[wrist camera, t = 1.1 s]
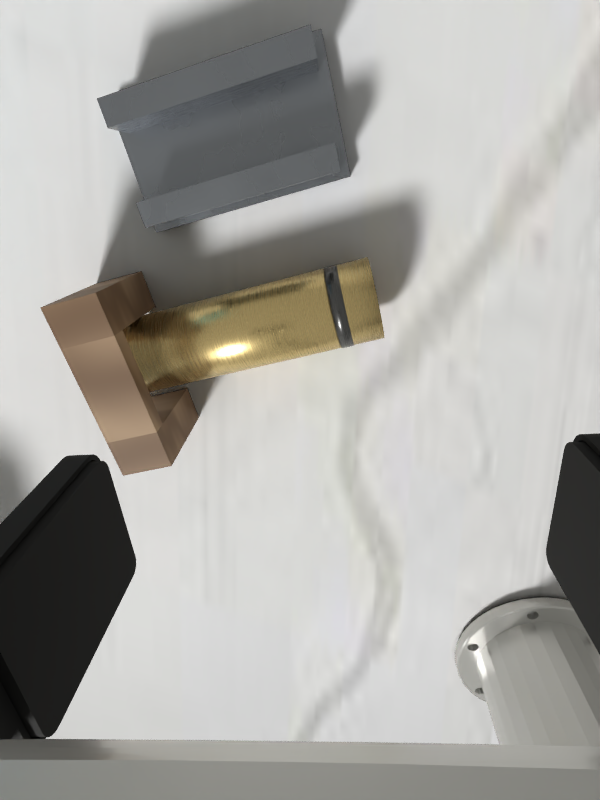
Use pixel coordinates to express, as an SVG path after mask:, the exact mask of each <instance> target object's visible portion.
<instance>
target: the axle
mask: <svg viewBox="0 0 600 800" xmlns="http://www.w3.org/2000/svg"><path fill="white" fill-rule="evenodd" d="M123 332H124V335H125V337H126V339H127V342H128V344H129V346H130V349H131V351H132V353H133V356H134V358H135V360H136V363H137V365H138V367H139V370H140V372H141V374H142V377H143V379H144V381H145V384H146V386H147V388H148V391H149V392H151V391H155V390H160V389H164V388H168V387H173V386H177V385H182V384H186V383H190V382H195V381H199V380H203V379H208V378H212V377H216V376H221V375H225V374H229V373H234V372H238V371H242V370H247V369H251V368H255V367H260V366H264V365H269V364H273V363H277V362H282V361H286V360H290V359H295V358H299V357H303V356H308V355H312V354H316V353H321V352H325V351H329V350H334V349H338V348H345V347H349V346H354V345H356V344H360V343H364V342H369V341H373V340H377V339H382V338H384V331H383V325H382V319H381V314H380V309H379V304H378V299H377V294H376V289H375V285H374V280H373V276H372V272H371V268H370V264H369V260H368V257H366V258H362V259H358V260H354V261H351V262H347V263H343V264H339V265H333V266H329V267H325V268H324V269H320V270H316V271H312V272H308V273H304V274H300V275H297V276H293V277H289V278H285V279H281V280H277V281H274V282H270V283H266V284H262V285H258V286H254V287H250V288H247V289H243V290H239V291H235V292H231V293H227V294H223V295H220V296H216V297H212V298H208V299H204V300H200V301H197V302H193V303H189V304H185V305H181V306H177V307H173V308H170V309H166V310H162V311H158V312H154V313H150V314H146V315H143V316H142V317H140V318H139V319H137V320H136V321H135V322H133V323H132V324H130V325H129V326H128V327H126V328H125V329H123Z"/></svg>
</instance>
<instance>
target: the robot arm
mask: <svg viewBox="0 0 600 800" xmlns="http://www.w3.org/2000/svg"><path fill="white" fill-rule="evenodd" d="M546 555H547V560H548V564H549V566H550V568H551V570H552V572H553V574H554V575H555V577H556V579H557V581H558V582H559V584H560V586H561V588H562V589H563V591H564V593H565V595H566V596H567V598H568V600H564V599H558V598H541V597H538V598H529V599H521V600H517V601H513V602H508V603H506V604H503V605H500V606H498V607H495V608H493V609H491V610H489V611H488V612H486V613H484V614H482V615H481V616H479V617H478V618H477V619H476V620H474V621H473V622H472V623H471V624H470V625H469V626H468V627H467V628H466V629H465V631H464V632H463V633H462V635H461V637H460V638H459V640H458V642H457V646H456V650H455V663H456V666H457V670H458V674H459V677H460V679H461V681H462V683H463V684H464V685H465V687H466V688H467V689H468V690H469V691H470V692H471V693H472V694H474V695H475V696H476V697H478V698H479V699H481V700H483V701H485V702H487V705H488V709H489V712H490V715H491V719H492V722H493V725H494V729H495V732H496V735H497V739H498V742H499V745H494V744H441V743H377V742H306V741H225V740H102V739H45V738H46V737H50V736H52V735H53V734H54V733H55V732H56V730H57V728H58V727H59V725H60V723H61V721H62V719H63V717H64V715H65V713H66V711H67V709H68V707H69V705H70V703H71V701H72V699H73V697H74V695H75V693H76V690H77V688H78V686H79V684H80V682H81V680H82V678H83V676H84V674H85V672H86V670H87V668H88V666H89V664H90V662H91V660H92V658H93V656H94V654H95V652H96V650H97V648H98V646H99V644H100V642H101V640H102V638H103V636H104V634H105V632H106V630H107V628H108V626H109V624H110V622H111V620H112V618H113V616H114V614H115V612H116V610H117V608H118V606H119V604H120V602H121V600H122V598H123V596H124V594H125V592H126V590H127V588H128V586H129V583H130V581H131V579H132V577H133V575H134V573H135V568H136V558H135V554H134V550H133V547H132V544H131V540H130V537H129V534H128V530H127V527H126V524H125V521H124V517H123V514H122V511H121V507H120V504H119V501H118V497H117V494H116V491H115V487H114V484H113V481H112V477H111V474H110V471H109V468H108V465H107V464H106V462H104V461H100V459H99V458H98V457H97V456H96V455H74V456H66V457H65V458H63V459H62V460H61V461H60V462H59V463H58V464H57V465H56V466H55V467H54V469H53V470H52V471H51V472H50V473H49V474H48V475H47V476H46V477H45V478H44V479H43V480H42V481H41V482H40V483H39V484H38V485H37V486H36V487H35V488H34V489H33V491H32V492H31V493H30V494H29V495H28V496H27V497H26V498H25V499H24V500H23V501H22V502H21V503H20V504H19V505H18V506H17V507H16V508H15V509H14V510H13V511H12V513H11V514H10V515H9V516H8V517H7V518H6V519H5V520H4V521H3V522H2V523H1V524H0V800H600V434H579V435H578V436H576V438H575V439H574V441H573V442H569V443H567V444H566V446H565V449H564V453H563V459H562V464H561V470H560V475H559V481H558V486H557V492H556V498H555V503H554V509H553V514H552V520H551V525H550V531H549V536H548V542H547V548H546Z"/></svg>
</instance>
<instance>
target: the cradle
mask: <svg viewBox="0 0 600 800" xmlns="http://www.w3.org/2000/svg"><path fill="white" fill-rule="evenodd" d="M97 100H98V103H99V106H100V108H101V111H102V114H103V116H104V119H105V122H106V124H107V127H108V128H110V129H114V130H118V131H119V132H120V135H121V138H122V140H123V143H124V146H125V149H126V151H127V154H128V157H129V159H130V162H131V165H132V168H133V170H134V173H135V176H136V179H137V181H138V184H139V187H140V189H141V192H142V195H143V198H144V200H143V201H140V202H137V203H136V204H137V207H138V210H139V212H140V215H141V218H142V220H143V223H144V226H145V228H146V227H151V226H154V228H155V230H156V232H160V231H163V230H167V229H170V228H174V227H177V226H181V225H184V224H188V223H191V222H194V221H198V220H201V219H205V218H208V217H212V216H215V215H219V214H222V213H226V212H229V211H233V210H236V209H239V208H243V207H246V206H250V205H253V204H257V203H260V202H264V201H267V200H271V199H274V198H277V197H281V196H284V195H288V194H291V193H295V192H298V191H302V190H305V189H309V188H312V187H316V186H319V185H322V184H326V183H329V182H333V181H336V180H340V179H343V178H347V177H350V171H349V166H348V161H347V156H346V151H345V146H344V141H343V136H342V131H341V126H340V121H339V116H338V111H337V106H336V101H335V96H334V91H333V86H332V81H331V76H330V71H329V66H328V60H327V55H326V50H325V45H324V40H323V35H322V30H321V29H320V30H317V31H314V32H312V30H311V25H308V26H305V27H302V28H299V29H296V30H293V31H290V32H287V33H285V34H282V35H279V36H276V37H273V38H270V39H267V40H264V41H262V42H259V43H256V44H253V45H250V46H247V47H244V48H241V49H238V50H236V51H233V52H230V53H227V54H224V55H221V56H218V57H215V58H213V59H210V60H207V61H204V62H201V63H198V64H195V65H192V66H190V67H187V68H184V69H181V70H178V71H175V72H172V73H169V74H166V75H164V76H161V77H158V78H155V79H152V80H149V81H146V82H143V83H141V84H138V85H135V86H132V87H129V88H126V89H123V90H120V91H117V92H115V93H112V94H109V95H106V96H103V97H100V98H97Z"/></svg>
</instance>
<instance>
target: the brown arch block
mask: <svg viewBox="0 0 600 800" xmlns="http://www.w3.org/2000/svg"><path fill="white" fill-rule="evenodd" d="M154 307H155V304H154V302H153V299H152V297H151V294H150V292H149V289H148V287H147V284H146V281H145V279H144V276H143V274H142V271H140V272H137V273H133V274H129V275H126V276H122V277H118V278H115V279H111V280H108V281H104V282H100V283H97V284H94V285H92V286H90V287H87V288H85V289H83V290H80V291H78V292H76V293H73V294H71V295H69V296H66V297H64V298H62V299H60V300H57V301H55V302H53V303H50V304H48V305H46V306H43V307H41V310H42V312H43V314H44V316H45V318H46V320H47V322H48V324H49V326H50V328H51V330H52V332H53V334H54V336H55V338H56V340H57V342H58V344H59V346H60V348H61V350H62V352H63V355H64V357H65V359H66V361H67V363H68V365H69V367H70V369H71V371H72V373H73V375H74V377H75V379H76V381H77V383H78V385H79V387H80V389H81V391H82V393H83V395H84V397H85V399H86V401H87V403H88V405H89V407H90V409H91V411H92V413H93V415H94V417H95V419H96V421H97V424H98V426H99V428H100V430H101V432H102V434H103V436H104V438H105V440H106V442H107V444H108V446H109V448H110V450H111V452H112V454H113V456H114V458H115V460H116V462H117V464H118V466H119V468H120V470H121V472H122V474H123V476H124V475H129V474H134V473H139V472H144V471H149V470H154V469H159V468H164V467H168V466H172V464H173V462H174V460H175V459H176V457H177V455H178V453H179V452H180V450H181V448H182V446H183V444H184V443H185V441H186V439H187V437H188V436H189V434H190V432H191V430H192V428H193V427H194V425H195V423H196V421H197V420H198V418H199V417H198V414H197V412H196V409H195V407H194V404H193V401H192V399H191V396H190V394H189V391H188V389H183V390H178V391H174V392H169V393H165V394H161V395H156V396H152V397H151V395H150V393H149V391H148V388H147V386H146V384H145V381H144V379H143V377H142V374H141V372H140V370H139V367H138V365H137V363H136V360H135V358H134V356H133V353H132V351H131V349H130V346H129V344H128V342H127V339H126V337H125V335H124V332H123V329H125V328H126V327H128V326H129V325H130V324H132V323H133V322H135V321H136V320H137V319H139V318H140V317H142V316H143V315H145V314H146V313H147V312H149V311H150V310H152V309H153V308H154Z"/></svg>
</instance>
